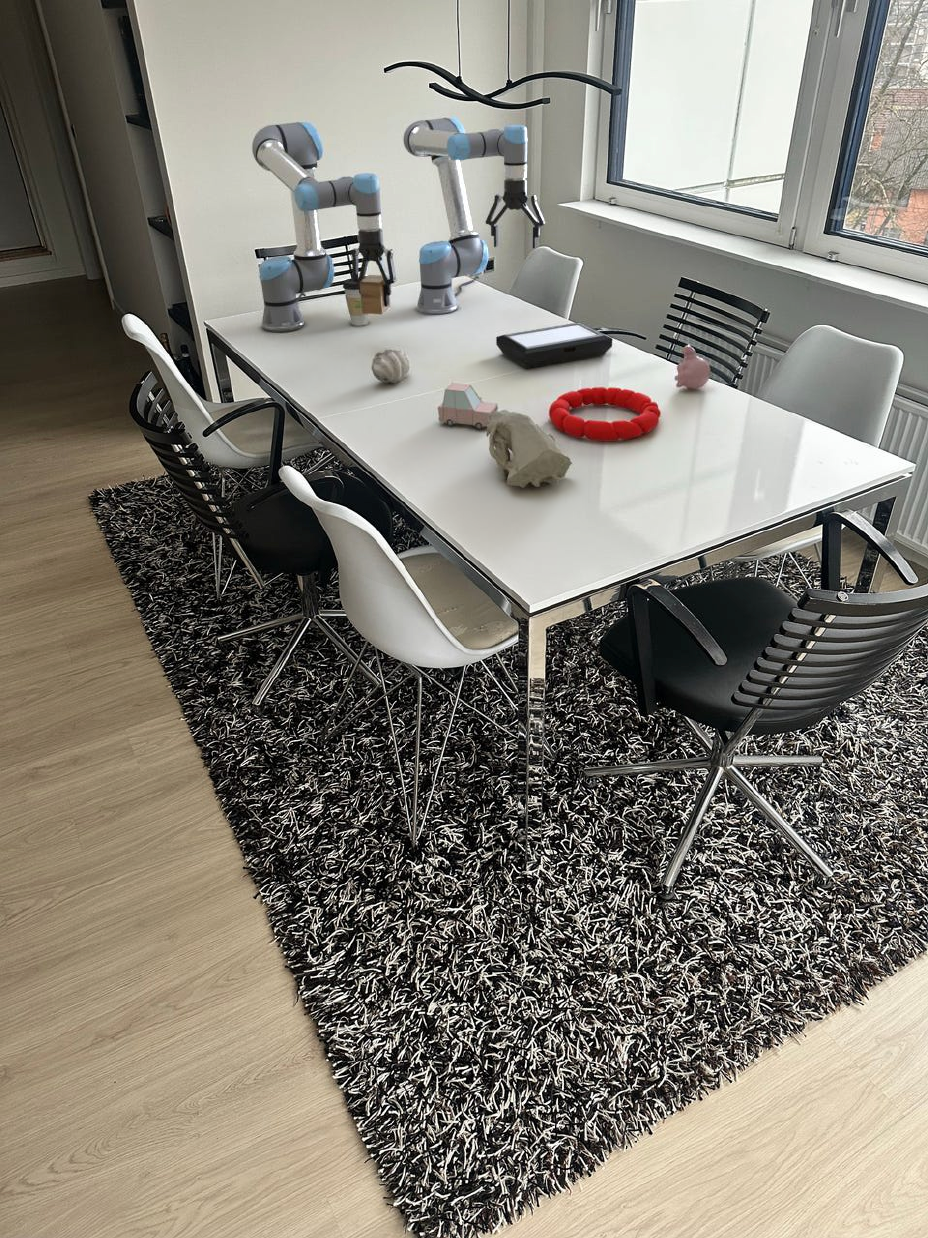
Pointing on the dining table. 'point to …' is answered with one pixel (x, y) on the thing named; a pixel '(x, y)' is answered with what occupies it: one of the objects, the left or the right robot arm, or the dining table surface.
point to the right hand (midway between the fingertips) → (515, 246)
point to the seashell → (390, 366)
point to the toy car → (465, 406)
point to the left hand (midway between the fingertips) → (376, 304)
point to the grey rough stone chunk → (525, 450)
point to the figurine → (692, 370)
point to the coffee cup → (354, 303)
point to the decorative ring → (604, 428)
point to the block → (373, 295)
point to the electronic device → (553, 344)
